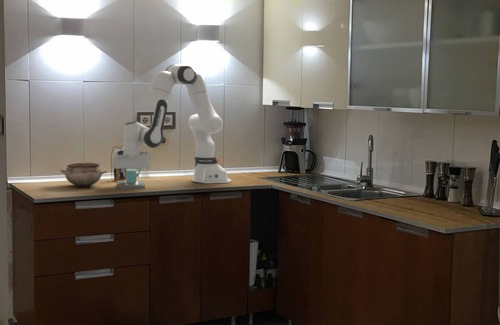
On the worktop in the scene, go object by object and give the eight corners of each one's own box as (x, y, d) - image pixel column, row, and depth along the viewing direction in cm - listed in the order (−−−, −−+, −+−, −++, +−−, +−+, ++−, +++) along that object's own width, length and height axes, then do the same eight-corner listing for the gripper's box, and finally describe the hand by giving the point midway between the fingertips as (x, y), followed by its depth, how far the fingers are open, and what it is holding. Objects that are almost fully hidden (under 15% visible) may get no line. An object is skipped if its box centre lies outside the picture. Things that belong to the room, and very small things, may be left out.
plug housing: (135, 180, 374) (136, 169, 373) (136, 183, 363) (136, 172, 362) (126, 180, 373) (126, 169, 372) (126, 183, 362) (126, 171, 361)
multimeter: (120, 183, 376) (120, 147, 374) (108, 181, 382) (108, 146, 380) (140, 181, 388) (140, 146, 386) (128, 179, 394) (128, 144, 392)
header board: (143, 183, 378) (144, 173, 378) (144, 188, 361) (144, 178, 360) (118, 183, 376) (118, 173, 375) (118, 188, 358) (118, 178, 357)
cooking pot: (110, 184, 372) (110, 162, 370) (103, 189, 353) (103, 166, 351) (64, 183, 371) (64, 161, 370) (55, 188, 353) (54, 165, 351)
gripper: (150, 151, 371) (150, 176, 372) (112, 150, 367) (112, 176, 369) (151, 152, 365) (150, 177, 366) (112, 151, 361) (112, 177, 362)
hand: (131, 176), depth 367 cm, fingers closed on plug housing, 5 cm apart
